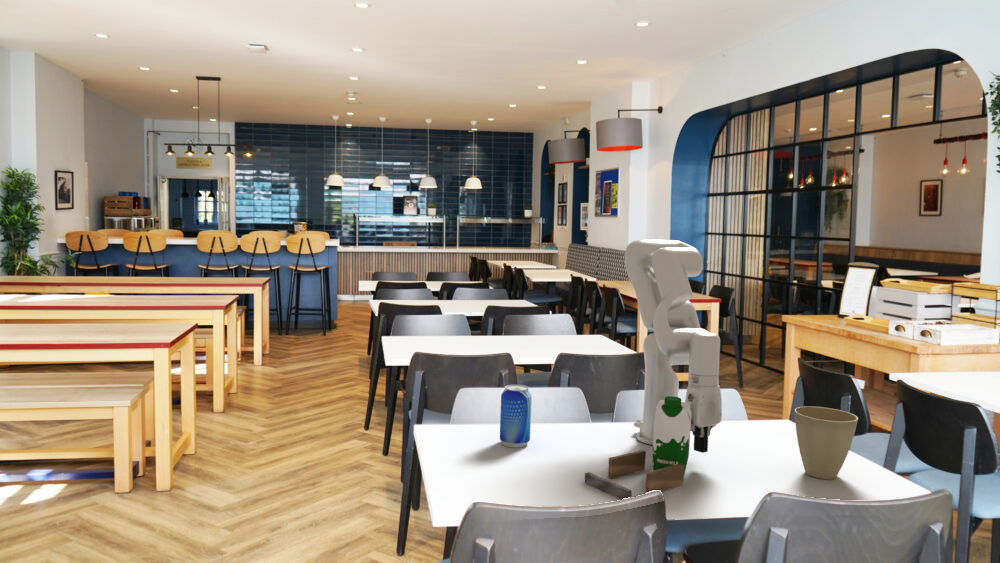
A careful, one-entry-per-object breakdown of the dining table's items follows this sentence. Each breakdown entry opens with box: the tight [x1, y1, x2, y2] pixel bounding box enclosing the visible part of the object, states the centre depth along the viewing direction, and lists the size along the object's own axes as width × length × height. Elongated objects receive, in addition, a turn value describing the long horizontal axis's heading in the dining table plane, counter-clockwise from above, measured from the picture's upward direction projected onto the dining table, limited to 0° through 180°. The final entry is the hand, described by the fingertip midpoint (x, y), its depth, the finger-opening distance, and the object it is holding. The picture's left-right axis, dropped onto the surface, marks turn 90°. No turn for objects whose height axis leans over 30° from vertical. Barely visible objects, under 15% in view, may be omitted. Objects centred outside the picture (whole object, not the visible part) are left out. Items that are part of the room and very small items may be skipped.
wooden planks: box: [584, 449, 685, 500], centre depth 183 cm, size 14×20×5 cm
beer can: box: [499, 384, 533, 448], centre depth 211 cm, size 8×8×16 cm
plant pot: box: [794, 406, 859, 480], centre depth 195 cm, size 15×15×16 cm
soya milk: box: [652, 396, 691, 474], centre depth 190 cm, size 9×9×20 cm
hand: (700, 450), depth 197 cm, fingers closed
